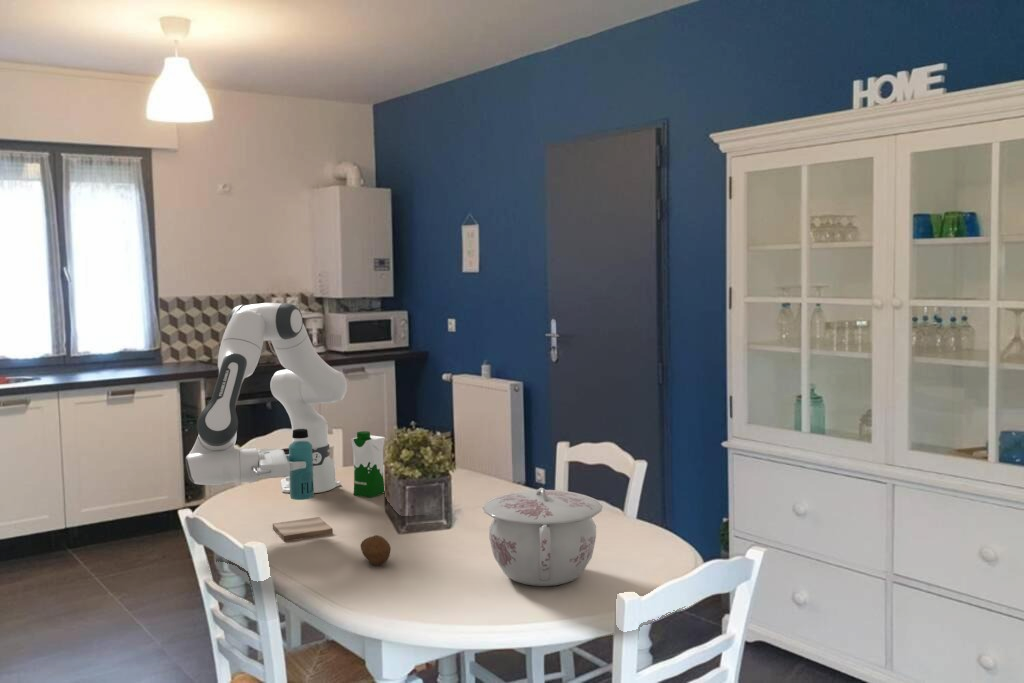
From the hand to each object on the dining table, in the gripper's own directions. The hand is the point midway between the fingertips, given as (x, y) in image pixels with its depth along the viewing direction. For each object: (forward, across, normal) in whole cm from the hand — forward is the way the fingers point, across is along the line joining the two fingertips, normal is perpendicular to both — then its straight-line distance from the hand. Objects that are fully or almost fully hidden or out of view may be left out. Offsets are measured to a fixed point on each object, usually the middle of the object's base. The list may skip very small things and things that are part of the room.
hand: (304, 461), depth 244 cm
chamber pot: (+48, -56, +19) cm, 76 cm away
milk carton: (+23, +33, +19) cm, 45 cm away
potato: (+13, -33, +20) cm, 41 cm away
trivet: (-1, 0, +19) cm, 19 cm away
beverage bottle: (-1, 0, +11) cm, 11 cm away
